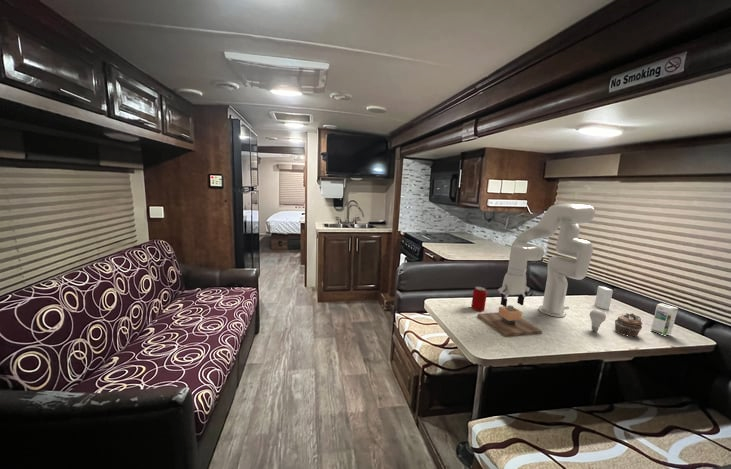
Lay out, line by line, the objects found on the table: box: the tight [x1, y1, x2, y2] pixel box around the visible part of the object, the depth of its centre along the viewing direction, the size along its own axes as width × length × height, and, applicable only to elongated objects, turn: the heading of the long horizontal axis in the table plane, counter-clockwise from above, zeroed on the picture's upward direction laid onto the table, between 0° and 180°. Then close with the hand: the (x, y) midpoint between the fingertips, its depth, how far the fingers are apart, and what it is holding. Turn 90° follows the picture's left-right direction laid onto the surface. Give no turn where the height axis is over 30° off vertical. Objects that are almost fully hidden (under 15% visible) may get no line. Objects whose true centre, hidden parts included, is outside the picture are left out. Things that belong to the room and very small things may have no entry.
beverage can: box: [471, 286, 488, 312], centre depth 154 cm, size 7×7×12 cm
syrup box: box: [650, 303, 679, 336], centre depth 139 cm, size 6×6×14 cm
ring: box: [498, 305, 523, 321], centre depth 138 cm, size 7×7×4 cm
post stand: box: [476, 304, 543, 338], centre depth 138 cm, size 20×20×10 cm
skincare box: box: [594, 285, 614, 310], centre depth 168 cm, size 6×4×12 cm
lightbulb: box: [589, 308, 607, 332], centre depth 137 cm, size 6×6×11 cm
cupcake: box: [614, 312, 643, 337], centre depth 137 cm, size 10×10×10 cm
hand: (511, 304), depth 137 cm, fingers open, 9 cm apart
